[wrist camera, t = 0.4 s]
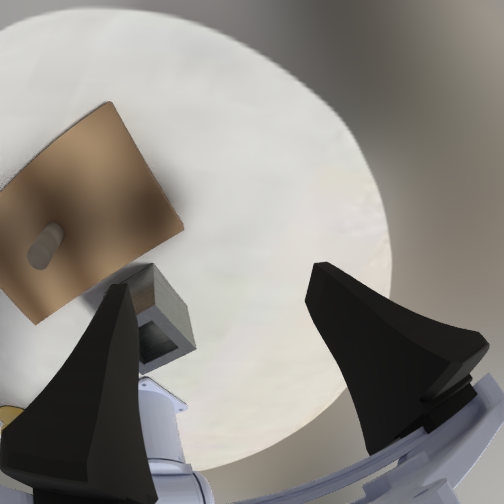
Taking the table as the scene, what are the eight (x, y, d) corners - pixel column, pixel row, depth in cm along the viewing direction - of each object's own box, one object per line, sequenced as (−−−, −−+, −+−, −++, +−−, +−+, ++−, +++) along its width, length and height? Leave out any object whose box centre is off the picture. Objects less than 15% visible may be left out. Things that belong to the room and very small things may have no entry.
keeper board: (38, 318, 19) (25, 354, 15) (-31, 232, 13) (-58, 260, 10) (183, 224, 20) (190, 254, 16) (112, 101, 14) (97, 99, 10)
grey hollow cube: (140, 331, 23) (142, 375, 19) (104, 293, 20) (97, 337, 16) (187, 305, 23) (196, 348, 19) (153, 263, 20) (155, 304, 16)
